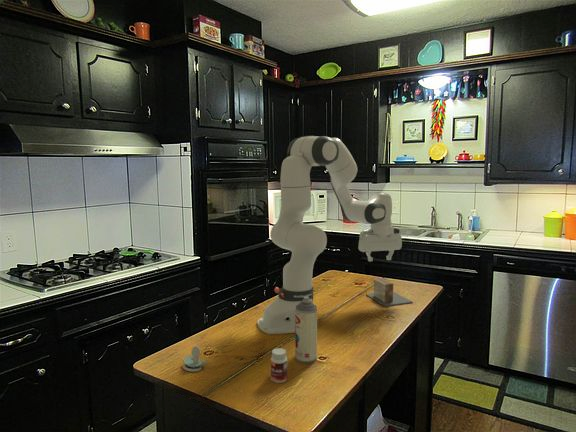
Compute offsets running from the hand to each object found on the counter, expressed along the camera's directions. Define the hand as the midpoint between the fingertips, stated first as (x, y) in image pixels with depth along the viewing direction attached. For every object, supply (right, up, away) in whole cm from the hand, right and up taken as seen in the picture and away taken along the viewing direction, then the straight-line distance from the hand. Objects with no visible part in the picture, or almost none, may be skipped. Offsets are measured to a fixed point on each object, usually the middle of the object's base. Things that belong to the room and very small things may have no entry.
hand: (379, 260), depth 183 cm
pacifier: (-69, -26, -58) cm, 94 cm away
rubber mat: (+5, -18, +4) cm, 19 cm away
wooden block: (+2, -18, +3) cm, 18 cm away
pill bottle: (-43, -27, -65) cm, 82 cm away
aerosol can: (-35, -26, -52) cm, 68 cm away
